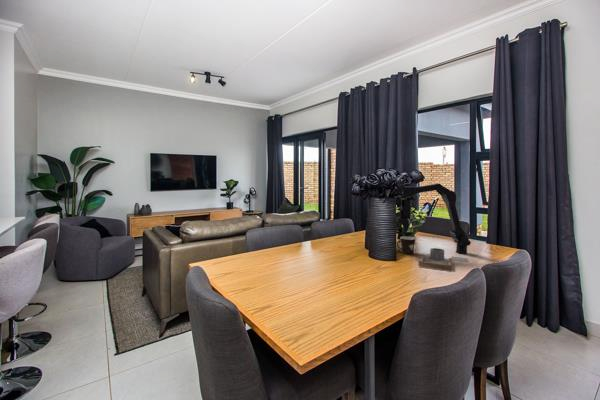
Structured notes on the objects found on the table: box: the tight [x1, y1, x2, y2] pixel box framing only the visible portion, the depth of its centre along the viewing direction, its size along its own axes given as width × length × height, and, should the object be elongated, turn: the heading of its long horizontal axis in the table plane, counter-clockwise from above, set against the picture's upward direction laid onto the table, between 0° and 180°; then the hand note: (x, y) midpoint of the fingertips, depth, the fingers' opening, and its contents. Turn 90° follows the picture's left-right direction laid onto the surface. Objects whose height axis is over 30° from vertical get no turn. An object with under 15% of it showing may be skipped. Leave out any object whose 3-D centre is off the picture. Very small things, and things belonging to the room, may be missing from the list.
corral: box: [418, 254, 453, 273], centre depth 152 cm, size 15×15×3 cm
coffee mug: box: [396, 236, 417, 256], centre depth 174 cm, size 12×9×10 cm
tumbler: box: [429, 247, 445, 262], centre depth 161 cm, size 7×7×6 cm
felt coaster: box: [450, 256, 469, 263], centre depth 161 cm, size 8×8×1 cm
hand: (405, 233), depth 173 cm, fingers closed
